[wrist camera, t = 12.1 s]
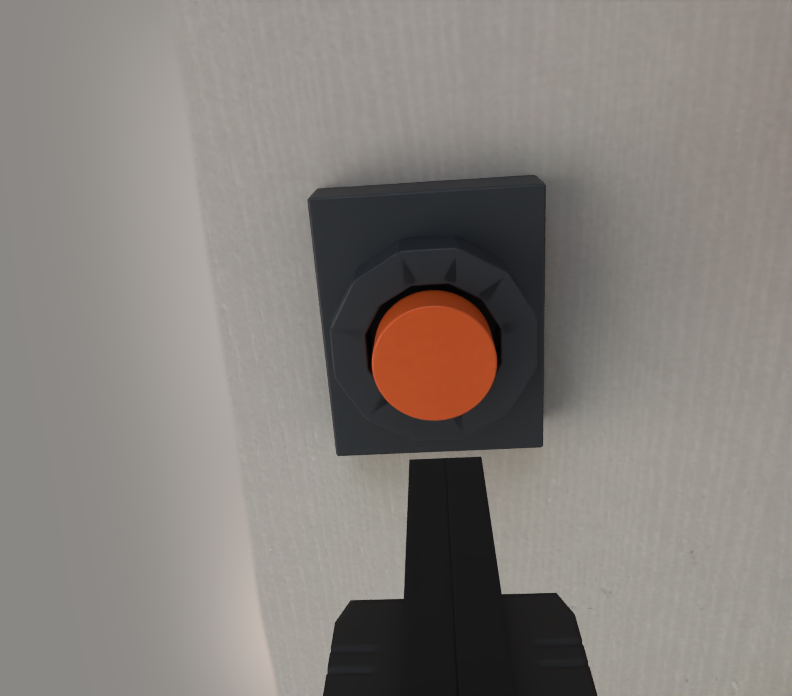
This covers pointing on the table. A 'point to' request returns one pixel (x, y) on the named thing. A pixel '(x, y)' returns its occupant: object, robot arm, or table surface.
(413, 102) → the table surface
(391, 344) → the light button
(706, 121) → the table surface
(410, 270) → the switch block
